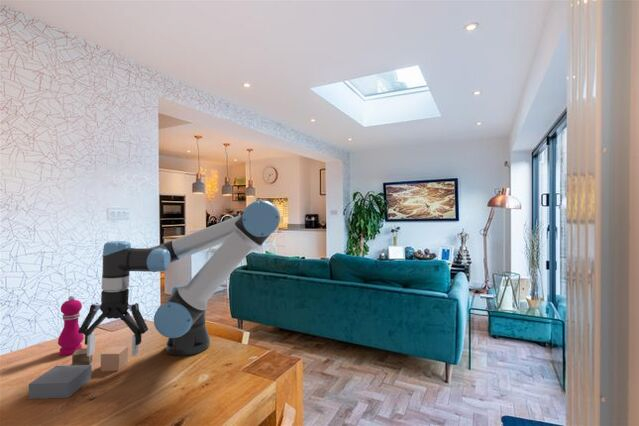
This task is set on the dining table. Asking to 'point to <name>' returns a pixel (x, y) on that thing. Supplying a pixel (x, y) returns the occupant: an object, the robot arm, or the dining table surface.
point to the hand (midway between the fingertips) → (112, 354)
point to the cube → (114, 358)
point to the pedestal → (60, 382)
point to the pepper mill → (70, 327)
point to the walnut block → (81, 357)
